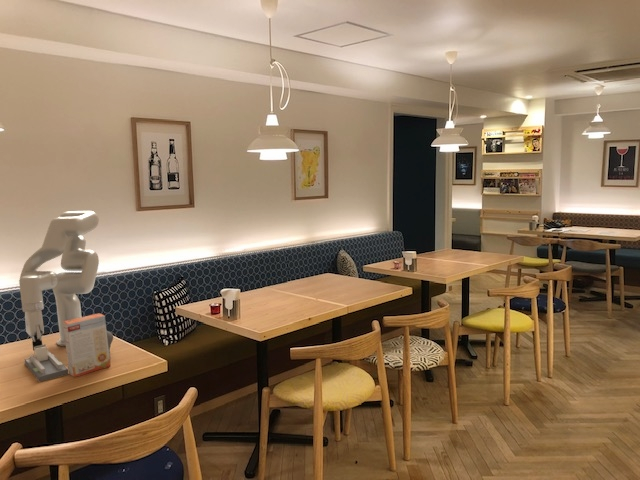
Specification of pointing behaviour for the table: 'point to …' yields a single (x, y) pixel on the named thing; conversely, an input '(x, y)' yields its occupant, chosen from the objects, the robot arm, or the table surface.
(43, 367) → the switch panel
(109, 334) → the light bulb
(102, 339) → the cracker box
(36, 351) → the switch tab
